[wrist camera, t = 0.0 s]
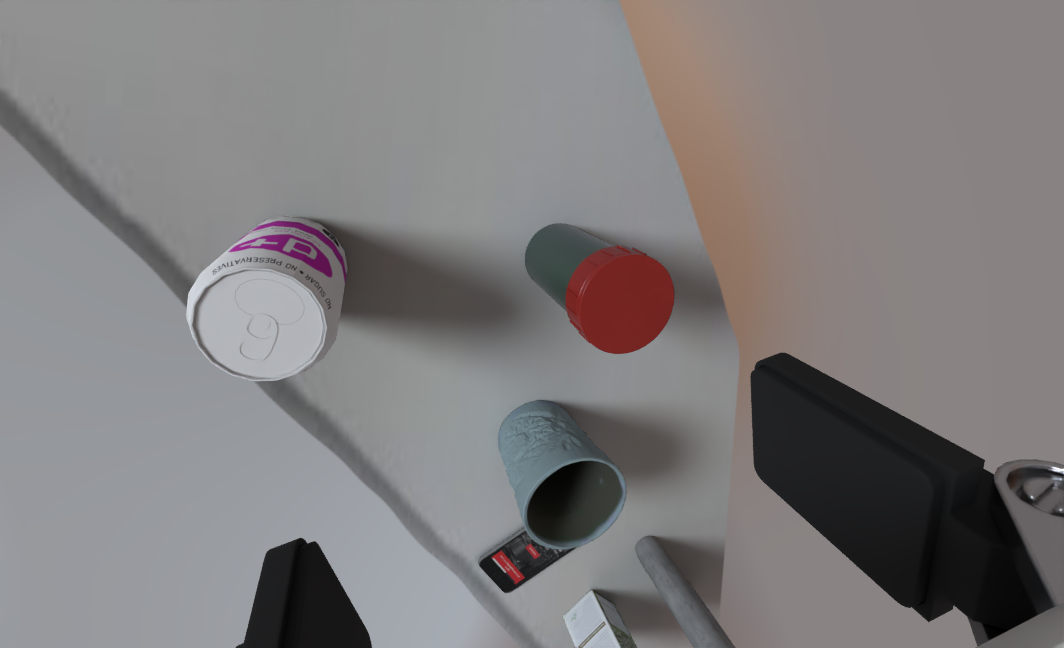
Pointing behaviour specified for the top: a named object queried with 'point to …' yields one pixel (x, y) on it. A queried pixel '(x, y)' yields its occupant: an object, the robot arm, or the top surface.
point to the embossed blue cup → (559, 476)
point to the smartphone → (518, 560)
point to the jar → (558, 257)
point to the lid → (619, 299)
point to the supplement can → (270, 300)
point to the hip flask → (681, 597)
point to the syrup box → (597, 624)
